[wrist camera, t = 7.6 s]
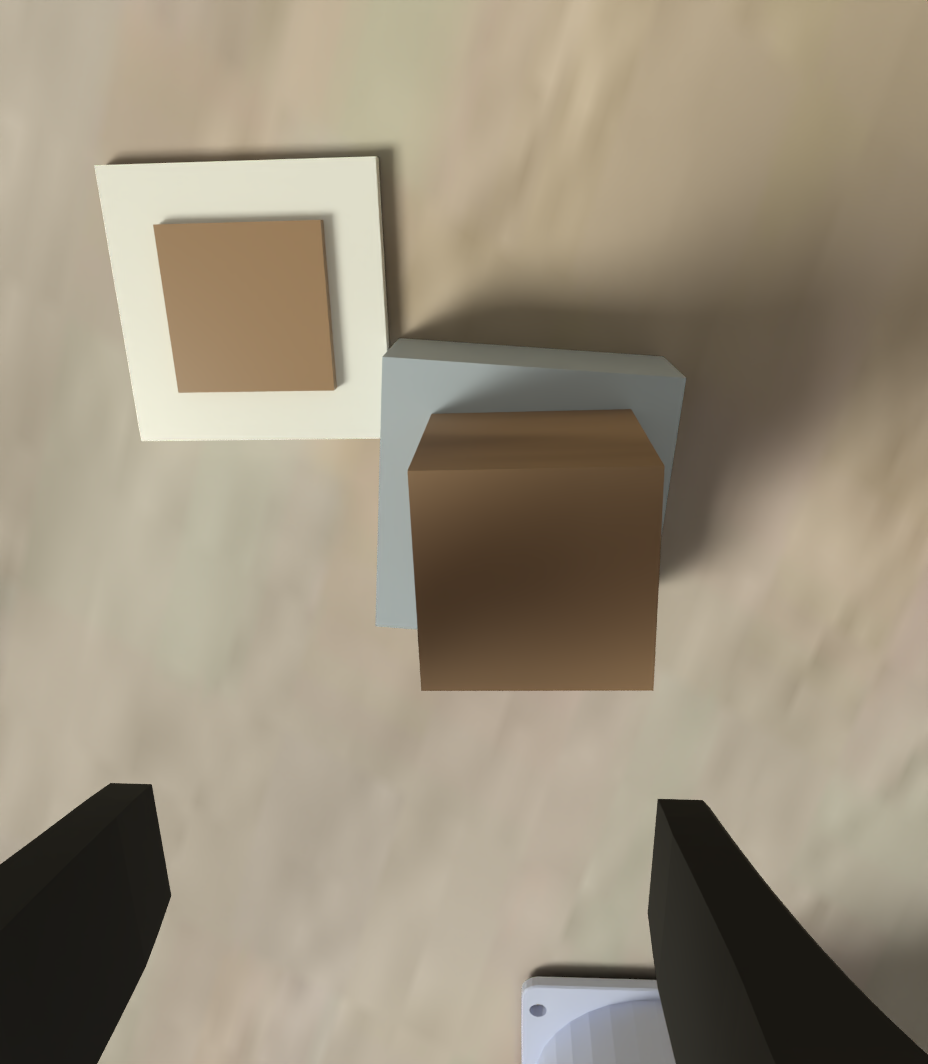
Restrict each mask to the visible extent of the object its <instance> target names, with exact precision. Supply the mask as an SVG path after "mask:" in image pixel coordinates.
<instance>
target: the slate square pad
mask: <svg viewBox="0 0 928 1064" xmlns="http://www.w3.org/2000/svg"><path fill="white" fill-rule="evenodd" d="M685 383H686V377H685V376H684V375H683V374H681V373H680V372H679V371H678V370H677V369H676V368H675V367H674V366H673V365H672V364H671V363H670V362H669V361H668V360H666V359H665V358H664V357H663V356H650V355H636V354H622V353H607V352H593V351H579V350H564V349H550V348H536V347H521V346H507V345H493V344H478V343H464V342H450V341H435V340H421V339H407V338H399V339H398V340H397V341H396V342H395V343H394V344H393V345H392V347H391V348H390V349H389V350H388V351H387V352H386V353H385V354H384V355H383V357H382V389H381V429H380V470H379V510H378V550H377V590H376V626H380V627H392V628H405V629H417V613H416V598H415V582H414V566H413V551H412V535H411V520H410V504H409V488H408V473H407V471H408V468H409V466H410V464H411V461H412V459H413V456H414V454H415V452H416V449H417V447H418V445H419V442H420V440H421V437H422V435H423V433H424V430H425V428H426V426H427V423H428V421H429V419H430V416H431V414H443V413H486V412H528V411H570V410H613V409H631V410H632V411H633V413H634V415H635V416H636V418H637V420H638V421H639V423H640V425H641V427H642V428H643V430H644V432H645V433H646V435H647V437H648V439H649V440H650V442H651V444H652V445H653V447H654V449H655V450H656V452H657V454H658V456H659V457H660V459H661V461H662V462H663V464H664V466H665V470H664V490H663V510H662V529H663V523H664V516H665V510H666V504H667V497H668V491H669V485H670V478H671V472H672V466H673V459H674V453H675V447H676V440H677V434H678V427H679V421H680V415H681V408H682V402H683V396H684V389H685ZM662 529H661V536H662Z"/></svg>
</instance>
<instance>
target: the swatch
mask: <svg viewBox="0 0 928 1064" xmlns="http://www.w3.org/2000/svg"><path fill="white" fill-rule="evenodd" d="M94 167H95V173H96V178H97V184H98V190H99V196H100V202H101V208H102V214H103V219H104V225H105V231H106V237H107V243H108V249H109V255H110V260H111V266H112V272H113V278H114V284H115V290H116V296H117V301H118V307H119V313H120V319H121V325H122V331H123V337H124V343H125V348H126V354H127V360H128V366H129V372H130V378H131V384H132V389H133V395H134V401H135V407H136V413H137V419H138V425H139V430H140V436H141V441H193V440H286V439H378V438H380V429H381V389H382V357H383V355H384V354H385V353H386V352H387V351H388V350H389V332H388V314H387V297H386V280H385V262H384V245H383V227H382V210H381V193H380V175H379V158H378V157H376V156H370V157H338V158H307V159H276V160H245V161H213V162H182V163H151V164H120V165H94Z"/></svg>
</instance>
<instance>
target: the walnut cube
mask: <svg viewBox="0 0 928 1064" xmlns="http://www.w3.org/2000/svg"><path fill="white" fill-rule="evenodd" d="M664 470H665V466H664V464H663V462H662V461H661V459H660V457H659V456H658V454H657V452H656V450H655V449H654V447H653V445H652V444H651V442H650V440H649V439H648V437H647V435H646V433H645V432H644V430H643V428H642V427H641V425H640V423H639V421H638V420H637V418H636V416H635V415H634V413H633V411H632V410H631V409H613V410H570V411H528V412H486V413H443V414H431V416H430V419H429V421H428V423H427V426H426V428H425V430H424V433H423V435H422V437H421V440H420V442H419V445H418V447H417V449H416V452H415V454H414V456H413V459H412V461H411V464H410V466H409V468H408V471H407V473H408V488H409V504H410V520H411V535H412V551H413V566H414V582H415V598H416V613H417V629H418V644H419V660H420V676H421V691H553V690H653V686H654V666H655V647H656V627H657V608H658V588H659V568H660V549H661V529H662V510H663V490H664Z"/></svg>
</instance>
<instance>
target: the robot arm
mask: <svg viewBox="0 0 928 1064" xmlns="http://www.w3.org/2000/svg"><path fill="white" fill-rule="evenodd" d="M170 898H171V892H170V886H169V880H168V875H167V869H166V863H165V858H164V852H163V846H162V841H161V835H160V829H159V823H158V818H157V812H156V806H155V801H154V795H153V789H152V784H121V783H110V784H109V785H107V786H106V787H104V788H103V789H101V790H100V791H99V792H97V793H96V794H94V795H93V796H92V797H90V798H89V799H87V800H86V801H85V802H83V803H82V804H81V805H79V806H78V807H77V808H75V809H74V810H73V811H71V812H70V813H69V814H67V815H66V816H65V817H63V818H62V819H61V820H59V821H58V822H57V823H55V824H54V825H53V826H51V827H50V828H49V829H47V830H46V831H45V832H43V833H42V834H41V835H39V836H38V837H37V838H35V839H34V840H33V841H31V842H30V843H29V844H27V845H26V846H25V847H23V848H22V849H21V850H19V851H18V852H17V853H15V854H14V855H12V856H11V857H10V858H8V859H7V860H6V861H4V862H3V863H2V864H0V1064H97V1063H98V1061H99V1059H100V1057H101V1055H102V1053H103V1051H104V1049H105V1047H106V1045H107V1043H108V1041H109V1039H110V1037H111V1036H112V1034H113V1032H114V1030H115V1028H116V1026H117V1024H118V1022H119V1020H120V1018H121V1016H122V1014H123V1012H124V1010H125V1008H126V1006H127V1004H128V1002H129V1000H130V998H131V996H132V994H133V992H134V990H135V988H136V986H137V983H138V981H139V979H140V977H141V975H142V973H143V971H144V969H145V967H146V964H147V962H148V959H149V956H150V954H151V951H152V949H153V946H154V943H155V941H156V938H157V935H158V932H159V930H160V927H161V924H162V921H163V918H164V915H165V912H166V909H167V906H168V903H169V901H170ZM648 919H649V927H650V935H651V943H652V951H653V958H654V965H655V973H656V980H643V979H609V978H574V977H540V976H537V977H531V978H529V979H527V980H526V981H525V982H524V983H523V985H522V1064H928V1055H927V1054H926V1053H925V1052H924V1051H923V1050H922V1049H921V1048H920V1047H918V1046H917V1045H916V1044H915V1043H914V1042H913V1041H912V1040H911V1039H910V1038H909V1037H908V1036H907V1035H906V1034H905V1033H904V1032H903V1031H902V1030H900V1029H899V1028H898V1027H897V1026H896V1025H895V1024H894V1023H893V1022H892V1021H891V1020H890V1019H889V1018H888V1017H887V1016H886V1015H885V1014H884V1013H883V1012H882V1011H881V1010H880V1009H879V1008H878V1007H877V1006H876V1005H875V1004H874V1003H873V1002H872V1001H871V1000H870V999H869V998H868V997H867V996H866V995H865V994H864V993H863V992H862V991H861V990H860V989H859V988H858V987H857V986H856V985H855V984H854V983H853V982H852V981H851V980H850V979H849V978H848V977H847V976H846V974H845V973H844V972H843V971H842V970H841V969H840V968H839V967H838V966H837V965H836V964H835V963H834V961H833V960H832V959H831V958H830V957H829V956H828V955H827V954H826V953H825V952H824V951H823V950H822V948H821V947H820V946H819V945H818V944H817V943H816V942H815V941H814V939H813V938H812V937H811V936H810V935H809V934H808V933H807V931H806V930H805V929H804V928H803V927H802V926H801V924H800V923H799V922H798V921H797V920H796V918H795V917H794V916H793V915H792V914H791V912H790V911H789V910H788V909H787V908H786V907H785V905H784V904H783V903H782V902H781V901H780V899H779V898H778V897H777V896H776V895H775V893H774V892H773V891H772V890H771V888H770V887H769V886H768V885H767V883H766V882H765V881H764V880H763V878H762V877H761V876H760V875H759V873H758V872H757V871H756V870H755V868H754V867H753V866H752V864H751V863H750V862H749V860H748V859H747V858H746V857H745V855H744V854H743V853H742V851H741V850H740V849H739V847H738V846H737V845H736V843H735V842H734V841H733V839H732V838H731V837H730V835H729V834H728V832H727V831H726V830H725V828H724V827H723V826H722V824H721V823H720V821H719V820H718V819H717V817H716V816H715V814H714V813H713V812H712V810H711V809H710V808H709V806H708V805H707V804H706V803H705V802H704V801H703V800H676V799H658V803H657V815H656V826H655V837H654V849H653V860H652V871H651V883H650V894H649V905H648ZM536 1004H540V1005H536Z"/></svg>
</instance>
